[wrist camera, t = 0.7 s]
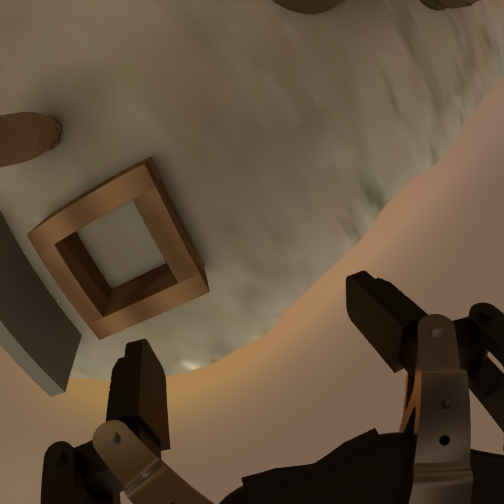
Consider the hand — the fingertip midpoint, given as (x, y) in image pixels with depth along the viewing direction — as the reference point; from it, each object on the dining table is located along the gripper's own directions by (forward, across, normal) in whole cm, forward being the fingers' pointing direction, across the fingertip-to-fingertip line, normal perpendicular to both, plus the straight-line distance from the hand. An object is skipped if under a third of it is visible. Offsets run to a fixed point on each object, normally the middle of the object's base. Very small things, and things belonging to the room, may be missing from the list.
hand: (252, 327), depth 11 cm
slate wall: (+18, +21, +2) cm, 28 cm away
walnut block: (+18, +9, +1) cm, 20 cm away
